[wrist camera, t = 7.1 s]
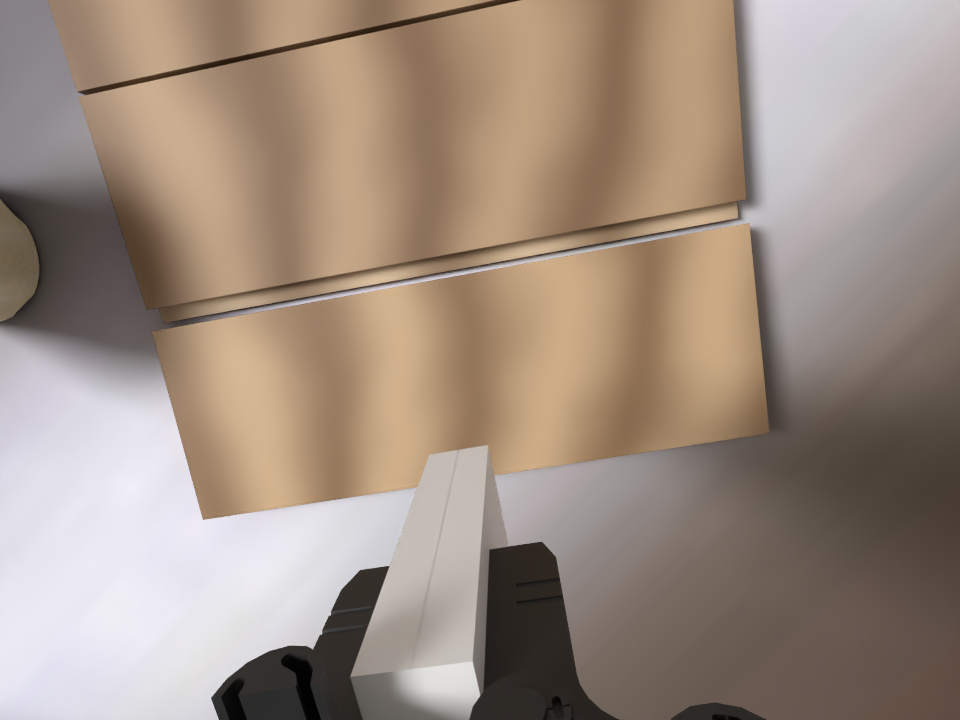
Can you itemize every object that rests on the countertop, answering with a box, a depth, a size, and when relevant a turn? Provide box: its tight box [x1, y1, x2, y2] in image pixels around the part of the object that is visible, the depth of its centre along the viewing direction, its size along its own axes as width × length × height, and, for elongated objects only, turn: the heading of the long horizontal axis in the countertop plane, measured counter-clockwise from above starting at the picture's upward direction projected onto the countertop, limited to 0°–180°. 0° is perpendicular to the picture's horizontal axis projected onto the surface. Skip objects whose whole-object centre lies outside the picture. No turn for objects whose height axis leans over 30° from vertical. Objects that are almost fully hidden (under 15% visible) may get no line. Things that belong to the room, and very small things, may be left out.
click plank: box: [152, 223, 769, 520], centre depth 22 cm, size 26×9×1 cm, turn 100°
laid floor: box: [48, 0, 746, 323], centre depth 20 cm, size 26×18×1 cm
